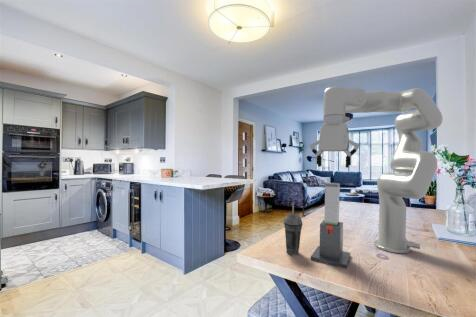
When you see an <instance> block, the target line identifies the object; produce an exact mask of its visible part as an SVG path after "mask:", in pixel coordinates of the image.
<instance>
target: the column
mask: <svg viewBox="0 0 476 317" xmlns="http://www.w3.org/2000/svg"><path fill="white" fill-rule="evenodd" d="M340 185H341V183H339V182H326V183H325V184H324V187H325V188H324V220H325V221H324V224H328V225H334V226H338V225H339V222H340V196H341V195H340V194H341V193H340V192H341V186H340Z"/></svg>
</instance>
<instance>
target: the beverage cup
mask: <svg viewBox="0 0 476 317" xmlns="http://www.w3.org/2000/svg"><path fill="white" fill-rule="evenodd" d="M291 204H292V206H291V207H292V212H290V213H287V215H285V217H284V220H283V227H284V232H285V233H284V234H285V236H284V237H285V248H286V253H287V254H288V255H290V256H291V255H293V256H297V255H299V250H300V244H301V243H300V242H301V235H302V229H303V219H302V218H301V215H299V214H298V213H296V212H295V202H292V203H291Z"/></svg>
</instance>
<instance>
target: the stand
mask: <svg viewBox="0 0 476 317" xmlns="http://www.w3.org/2000/svg"><path fill="white" fill-rule="evenodd" d="M324 221H325V219H323V220H322V221H321V222H320V224H319V245H318V246H317V247H316V248H315V249H314V251H313V252H312V254H311V256H310V260H311V261H314V262H318V263H322V264H326V265H330V266H335V267H338V268H343V269H348V266H349V262H350V259H351V252H350V251H349V252H348V251H344V250H343V247H344V246H343V245H344V243H343V242H344V222H341V221H339V225H338V226H334V225H328V224H324Z"/></svg>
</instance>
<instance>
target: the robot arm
mask: <svg viewBox="0 0 476 317" xmlns="http://www.w3.org/2000/svg"><path fill="white" fill-rule="evenodd" d="M354 113H356V114H359V113H360V114H361V113H389V114H398V113H401V114H398V115H397V116H396V117H395V119H394V128H395V129H396V132H397V135H398V139H399V140H398V144H397V147H396V149H395V151H394V153H393V155H392V158H391V161H390V164H389V165H390V169H391V170H392V171H393V172H385V173H382V174H380V175H379V177H378V178H377V180H376V187H377V191H378V192H377V193H378V198H379V199H378V200H379V205H378V206H379V207H378V239H375V240H374V242H373V244H374V246H375V247H376V248H378V249H381V250H383V251H385V252H389V253H395V254H408V253H410V252H411V248H413V249H418V250H421V244H420V243H416V241H410V240H408V239H407V236H406V235H407V234H406V233H407V206H406V205H407V204H406V203H405V200H404V199H403V198H405V199H411V200H420V199H423V198H424V197H425V196H426V195H427V192H428V191H429V188H430V186H431V184H432V181H433V179H434V177H435V175H436V171H437V168H438V159H437V157H436V155H435V154H434V153H433V152H430V151H425V150H423V146H424V145H423V144H424V143H423V140H422V138H420V137H419V135H418V134H417V133H416V132H420V131H428V130H429V131H430V130H435V129H438V128H439V127H441V125H442V123H443V114H442V112H441V110H440V108H439V107H438V106H437V104H436V103H435V102H434V100H433V99H432V97H431V96H430V95H429V94H428V92H427V91H425V90H424V89H423V88H420V87H415V88H410V89H407V90H406V89H405V90H403V91H388V90H375V91H373V90H372V91H370V92H369V91H368V92H367V91H366V90H365V89H363V88H361V87H343V86H340V85H339V86H337V85H336V86H331V87H327V88H326V89H325V90H324V92H323V117H322V118H323V120H322V122H323V124H321V127H320V130H319V131H320V132H319V138H318V140H316V141H314V142H313V143H311V144H309V148H310V149H311V152H312V153H313V154H314V155H315V156H316V165H317V167H318V168H319V167H322V162H323V158H322V154H323V153H324V152H344V153H345V154H346V156H345V168H349V167H350V166H351V165H352V163H351V162H352V156H353V155H354V154H356V152H357V151H358V150H359V148H360V146H361V145H360V144H359V143H357V142H355V141H353V140H351V139H350V135H349V133H350V132H349V126H348V124H347V123H346V122H349V121H350V116H346V114H354ZM350 145H352V146H354V147H353V149H352V150H351V151H350V150H349V149H350ZM317 146H318V150H317V149H316V147H317Z"/></svg>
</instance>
